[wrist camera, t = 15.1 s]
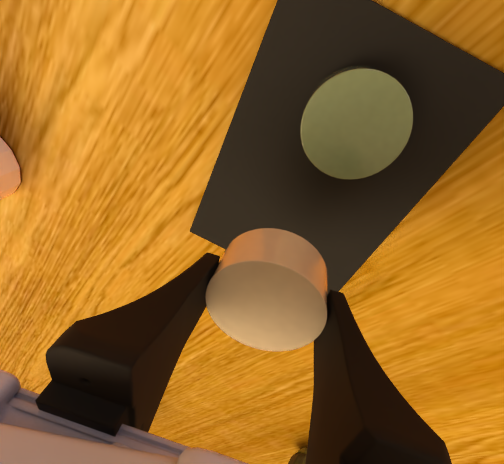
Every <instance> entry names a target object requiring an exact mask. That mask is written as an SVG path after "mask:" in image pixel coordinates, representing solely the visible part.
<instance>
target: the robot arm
mask: <svg viewBox="0 0 504 464" xmlns="http://www.w3.org/2000/svg"><path fill="white" fill-rule="evenodd" d="M219 258H220V256H217V255H214V254H211V253H206V254H205V255H204V256H202V257H201V258H200V259H199V260H198V261H197V262H195V263H194V264H193V265H192V266H191V267H189V268H188V269H187V270H185V271H184V272H183V273H181V274H180V275H179V276H177V277H176V278H174V279H173V280H171V281H170V282H168V283H167V284H165V285H164V286H162V287H160V288H159V289H157V290H155V291H153V292H152V293H150V294H148V295H146V296H144V297H142V298H140V299H138V300H136V301H134V302H131V303H129V304H127V305H125V306H122V307H119V308H117V309H114V310H112V311H109V312H106V313H103V314H100V315H97V316H93V317H90V318H86V319H83V320H79V321H76V322H75V323H74V324H73V325H72V326H71V327H69V328H68V329H67V330H66V331H65V332H64V333H63V334H62V335H61V336H60V337H59V338H58V339H57V340H56V342H55V343H54V344H53V345H52V346H51V347H50V348H49V349H48V350H47V352H46V362H47V365H48V368H49V371H50V375H51V378H52V381H51V382H50V383H49V384H48V386H47V387H46V388H45V389H44V390H43V392H42V393H41V394H37V393H34V392H31V391H29V390H26V389H23V388H21V386H20V382H19V380H18V379H17V377H15V376H14V375H13V374H11V373H9V372H6V371H3V370H0V464H248V463H245V462H242V461H239V460H236V459H233V458H231V457H228V456H225V455H222V454H219V453H216V452H214V451H211V450H207V449H202V448H198V447H197V448H190V447H187V446H184V445H181V444H179V443H176V442H173V441H170V440H167V439H164V438H162V437H159V436H156V435H153V434H150V433H148V431H149V429H150V426H151V424H152V421H153V419H154V416H155V414H156V411H157V409H158V406H159V404H160V401H161V399H162V396H163V394H164V391H165V389H166V387H167V384H168V382H169V380H170V377H171V375H172V372H173V370H174V368H175V366H176V363H177V361H178V359H179V356H180V354H181V352H182V350H183V348H184V346H185V344H186V342H187V340H188V338H189V336H190V335H191V333H192V331H193V329H194V327H195V326H196V324H197V322H198V320H199V318H200V317H201V315H202V313H203V311H204V309H205V308H206V306H207V305H206V299H205V296H206V289H207V286H208V283H209V281H210V279H211V277H212V275H213V273H214V271H215V269H216V267H217V265H218V263H219ZM305 464H452V463H451V459H450V456H449V453H448V450H447V448H446V445H445V442H444V441H443V440H442V439H441V438H440V437H439V436H438V435H437V434H436V433H435V432H434V431H433V430H432V429H431V428H430V427H429V426H428V425H427V424H426V423H425V422H424V421H423V419H422V418H421V417H420V416H419V415H418V414H417V413H416V412H415V410H414V409H413V408H412V407H411V406H410V405H409V404H408V402H407V401H406V400H405V399H404V398H403V396H402V395H401V394H400V393H399V391H398V390H397V389H396V387H395V386H394V385H393V383H392V382H391V381H390V379H389V378H388V377H387V375H386V374H385V372H384V371H383V369H382V368H381V366H380V365H379V363H378V362H377V360H376V359H375V357H374V355H373V354H372V352H371V350H370V348H369V347H368V345H367V343H366V341H365V339H364V337H363V336H362V334H361V331H360V329H359V327H358V325H357V323H356V321H355V319H354V317H353V314H352V312H351V310H350V308H349V305H348V303H347V300H346V298H345V296H344V294H343V293H340V292H337V291H334V290H331V289H330V291H329V293H328V295H327V321H326V324H325V327H324V329H323V331H322V332H321V334H320V335H319V336H318V337H317V338H316V339H315V340H314V393H313V403H312V413H311V422H310V431H309V439H308V447H307V454H306V462H305Z"/></svg>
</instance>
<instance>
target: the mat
mask: <svg viewBox="0 0 504 464" xmlns="http://www.w3.org/2000/svg"><path fill="white" fill-rule="evenodd" d="M351 66H368V67H372V68H375V69H378V70H380V71H382V72H384V73H387V74H389V75H390V76H392V77H393V78H395V79H396V80H397V81H398V82H399V83H400V84H401V85H402V86H403V87H404V89H405V90H406V92H407V94H408V95H409V98H410V100H411V103H412V108H413V126H412V131H411V134H410V137H409V140H408V142H407V144H406V146H405V148H404V149H403V150H402V152H401V153H400V155H399V156H398V157H397V158H396V159H395V160H394V161H393V162H392V163H391V164H390V165H389V166H387V167H386V168H384V169H383V170H381V171H379V172H378V173H376V174H373V175H371V176H368V177H365V178H360V179H340V178H335V177H332V176H330V175H327V174H325V173H324V172H322V171H320V170H319V169H318V168H316V167H315V166H314V165H313V164H312V163H311V161H310V160H309V158H308V157H307V155H306V153H305V151H304V149H303V146H302V142H301V135H300V126H301V119H302V115H303V112H304V109H305V107H306V104H307V102H308V100H309V97H310V96H311V94H312V92H313V91H314V90H315V88H316V87H317V86H318V85H319V84H320V83H321V81H323V80H324V79H325V78H326V77H327V76H329V75H331V74H332V73H334V72H336V71H338V70H340V69H343V68H346V67H351ZM503 106H504V73H502V72H501V71H499V70H497V69H495V68H493V67H492V66H490V65H488V64H486V63H484V62H482V61H481V60H479V59H477V58H475V57H473V56H472V55H470V54H468V53H466V52H464V51H462V50H461V49H459V48H457V47H455V46H453V45H452V44H450V43H448V42H446V41H444V40H443V39H441V38H439V37H437V36H435V35H433V34H432V33H430V32H428V31H426V30H424V29H423V28H421V27H419V26H417V25H415V24H413V23H412V22H410V21H408V20H406V19H404V18H403V17H401V16H399V15H397V14H395V13H393V12H392V11H390V10H388V9H386V8H384V7H383V6H381V5H379V4H377V3H375V2H374V1H372V0H278V1H277V3H276V6H275V9H274V11H273V14H272V16H271V19H270V22H269V24H268V27H267V30H266V32H265V35H264V37H263V40H262V43H261V45H260V48H259V51H258V53H257V56H256V59H255V61H254V64H253V66H252V69H251V72H250V74H249V77H248V80H247V82H246V85H245V87H244V90H243V93H242V95H241V98H240V101H239V103H238V106H237V108H236V111H235V114H234V116H233V119H232V122H231V124H230V127H229V129H228V132H227V135H226V137H225V140H224V143H223V145H222V148H221V150H220V153H219V156H218V158H217V161H216V164H215V166H214V169H213V171H212V174H211V177H210V179H209V182H208V185H207V187H206V190H205V192H204V195H203V198H202V200H201V203H200V206H199V208H198V211H197V213H196V216H195V219H194V221H193V224H192V227H191V229H190V232H192V233H194V234H196V235H198V236H200V237H202V238H204V239H206V240H208V241H210V242H212V243H214V244H216V245H218V246H220V247H222V248H224V249H226V248H227V247H228V245H229V244H230V243H231V242H232V241H233V240H234V239H235V238H236V237H238V236H239V235H241V234H243V233H245V232H248V231H251V230H255V229H261V228H275V229H281V230H286V231H289V232H292V233H294V234H296V235H299V236H301V237H302V238H304V239H305V240H307V241H308V242H309V243H311V244H312V245H313V246H314V247H315V248H316V249H317V250H318V252H319V253H320V255H321V256H322V258H323V260H324V262H325V265H326V268H327V295H328V293H329V291H330V289H331V290H334V291H337V292H338V291H339V290H340V289H341V288H342V287H343V286H344V285H345V284H346V282H347V281H348V280H349V279H350V278H351V277H352V276H353V275H354V273H355V272H356V271H357V270H358V269H359V268H360V267H361V266H362V264H363V263H364V262H365V261H366V260H367V259H368V258H369V257H370V256H371V254H372V253H373V252H374V251H375V250H376V249H377V248H378V247H379V245H380V244H381V243H382V242H383V241H384V240H385V239H386V238H387V236H388V235H389V234H390V233H391V232H392V231H393V230H394V229H395V227H396V226H397V225H398V224H399V223H400V222H401V221H402V220H403V218H404V217H405V216H406V215H407V214H408V213H409V212H410V211H411V209H412V208H413V207H414V206H415V205H416V204H417V203H418V202H419V201H420V199H421V198H422V197H423V196H424V195H425V194H426V193H427V192H428V190H429V189H430V188H431V187H432V186H433V185H434V184H435V183H436V181H437V180H438V179H439V178H440V177H441V176H442V175H443V174H444V172H445V171H446V170H447V169H448V168H449V167H450V166H451V165H452V163H453V162H454V161H455V160H456V159H457V158H458V157H459V156H460V154H461V153H462V152H463V151H464V150H465V149H466V148H467V147H468V146H469V144H470V143H471V142H472V141H473V140H474V139H475V138H476V137H477V135H478V134H479V133H480V132H481V131H482V130H483V129H484V128H485V126H486V125H487V124H488V123H489V122H490V121H491V120H492V119H493V117H494V116H495V115H496V114H497V113H498V112H499V111H500V110H501V108H502V107H503Z"/></svg>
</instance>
